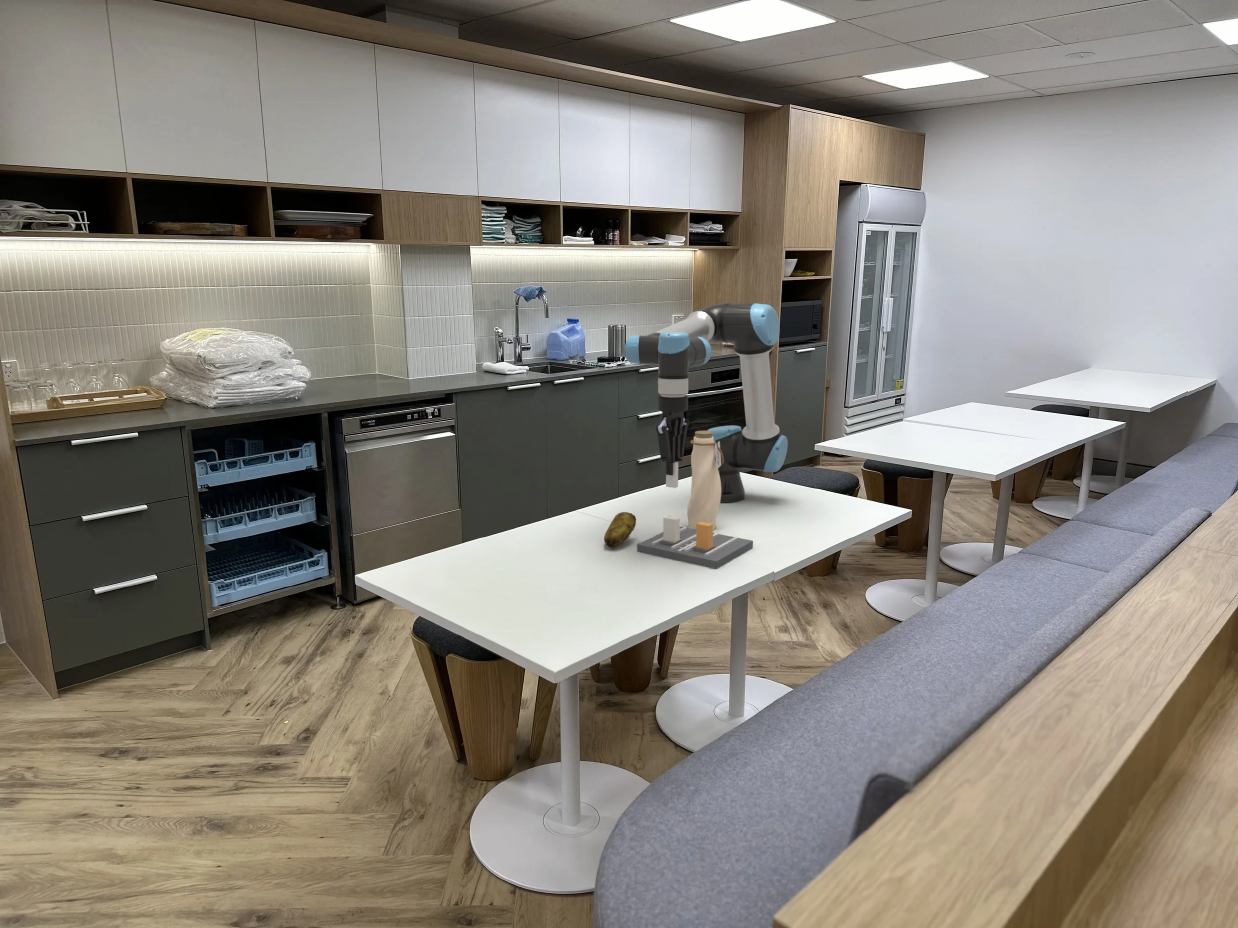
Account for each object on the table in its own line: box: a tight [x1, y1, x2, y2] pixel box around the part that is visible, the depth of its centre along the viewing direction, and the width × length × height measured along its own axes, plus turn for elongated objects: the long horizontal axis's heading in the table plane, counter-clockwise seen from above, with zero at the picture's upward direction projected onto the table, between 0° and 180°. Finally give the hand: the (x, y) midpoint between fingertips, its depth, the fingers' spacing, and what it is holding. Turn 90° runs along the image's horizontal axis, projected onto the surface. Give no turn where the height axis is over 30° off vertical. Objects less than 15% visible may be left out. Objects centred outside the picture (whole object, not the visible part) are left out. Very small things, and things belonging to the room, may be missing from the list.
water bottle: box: [686, 430, 724, 530], centre depth 247 cm, size 10×9×28 cm
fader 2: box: [694, 522, 715, 553], centre depth 223 cm, size 4×4×7 cm
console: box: [636, 526, 754, 570], centre depth 230 cm, size 20×24×3 cm
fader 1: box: [661, 515, 682, 546], centre depth 228 cm, size 4×4×7 cm
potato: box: [603, 511, 637, 549], centre depth 235 cm, size 8×13×8 cm, turn 138°
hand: (671, 486), depth 220 cm, fingers closed
